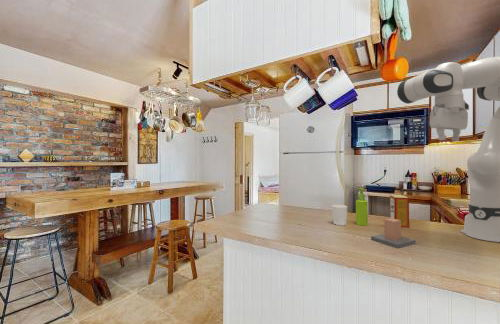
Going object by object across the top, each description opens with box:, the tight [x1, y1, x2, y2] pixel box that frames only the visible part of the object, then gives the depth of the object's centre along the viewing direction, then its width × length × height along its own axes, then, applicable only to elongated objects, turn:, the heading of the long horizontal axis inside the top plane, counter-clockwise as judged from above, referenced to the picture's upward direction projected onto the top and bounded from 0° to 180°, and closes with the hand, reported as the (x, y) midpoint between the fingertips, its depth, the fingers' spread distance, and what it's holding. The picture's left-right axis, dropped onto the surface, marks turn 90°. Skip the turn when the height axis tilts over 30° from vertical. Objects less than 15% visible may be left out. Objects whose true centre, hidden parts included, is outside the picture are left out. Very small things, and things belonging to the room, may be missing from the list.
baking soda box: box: [389, 194, 410, 229], centre depth 131 cm, size 10×6×16 cm
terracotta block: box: [383, 217, 402, 241], centre depth 105 cm, size 4×4×8 cm
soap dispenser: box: [355, 187, 369, 227], centre depth 134 cm, size 6×7×20 cm
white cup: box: [331, 204, 348, 226], centre depth 135 cm, size 8×8×10 cm
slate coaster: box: [370, 233, 416, 249], centre depth 106 cm, size 12×12×2 cm
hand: (448, 140), depth 96 cm, fingers open, 8 cm apart
